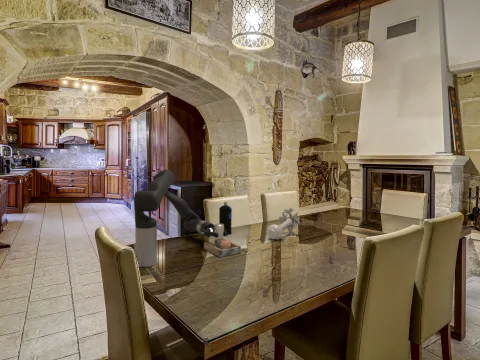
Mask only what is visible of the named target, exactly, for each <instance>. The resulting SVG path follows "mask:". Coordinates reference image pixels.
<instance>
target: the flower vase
mask: <svg viewBox="0 0 480 360" xmlns="http://www.w3.org/2000/svg"><path fill="white" fill-rule="evenodd" d="M293 211H295V209H293V208H292V207H290V208H289V209H285V208H284V209H283V211H282V213H281V216H278V219H279V220H280V224H276V223H275V224H270V225H269V226H268V228H267V235H268V237H269V238H270V239H272V240H275V241H276V240H280V239H281V238H282V236H283V231H284V230H286V229H287V231H288V232H287V233H285V235H289V236H290V237H293V235H294V236H298V234H297V233H295V232H294V229H298V225H299V224H300V223H301V222H300V219H301V218H300V217H299V216H298V212H295V214H292V212H293ZM288 215H289V217H288Z"/></svg>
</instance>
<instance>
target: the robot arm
mask: <svg viewBox="0 0 480 360" xmlns="http://www.w3.org/2000/svg"><path fill="white" fill-rule="evenodd" d="M175 182H176V181H175V174H174V173H173V172H172V171H171V170H170V169H167V168H166V169H164V170H162V171H160V172H158V173H156V174H155V175H154V176H153V177H152V181H151V182H150V183H149V184H148V185H147V190H137V191H136V192H135V193H134V196H133V207H134V224H135V228H134V229H135V242H134V243H133V248H134V249H133V251H135V253H136V256H137V260H138V264H139V267H138V268H148V267H152V266H156V265H157V264H158V243H157V242H158V232H157V230H158V228H157V227H158V222H157V220H156V219H155V218H154V217H150V216H148V215H147V214H146V213H145V212H156V211H158V209H159V208H160V205H161V202H162V201H163V198H164V197H165V198H166V199H167V200H168V201H169V202H170V203H171V204H172V206H173V207H174V208H175V210H176V211H177V212H178V214H179V215H180V217H181V218H186V217H188V216H189V218H187V219H186V220H185V221H184V223H183V226H184V227H183V228H184V229H185V230H186V231H188V232H195V233H196V232H197V233H199V234H201V236H205V237H209V238H210V237H212V238H214V237H216V238H218V233H215V223H211V222H209V221H206V220H203V219H201V217H200V215H198V214H196V213H195V212H194V211H193V210H192V209H191V208H190V206H189V205H188V203H187V201H185V199H183V197H180V196H178V195H176V194H174V193H172V192H170V191H169V189H170V187H171V186H172V185H173V184H174V183H175ZM224 237H228V235H227V232H226V229H224Z"/></svg>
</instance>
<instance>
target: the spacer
mask: <svg viewBox="0 0 480 360" xmlns="http://www.w3.org/2000/svg"><path fill="white" fill-rule="evenodd" d="M228 248H231V240H229V239H225V240H222V241H221V248H220V249H221V250H223V249H228Z"/></svg>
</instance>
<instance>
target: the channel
mask: <svg viewBox="0 0 480 360" xmlns="http://www.w3.org/2000/svg"><path fill="white" fill-rule="evenodd" d="M224 240H226V239H225V238H224ZM203 249H204V250H205V251H207V252H208V253H211V254H213V255H215V256H216V257H219V258H222V257H228V256H232V255H233V256H234V255H237V254H241V253H242V252H241V250H242V246H240V245H239V244H236V243H235V242H231V248H228V249H223V250H221V248H217V247H215V246H214V245H213V244H211V243H209V242H206V241H205V242H203Z"/></svg>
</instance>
